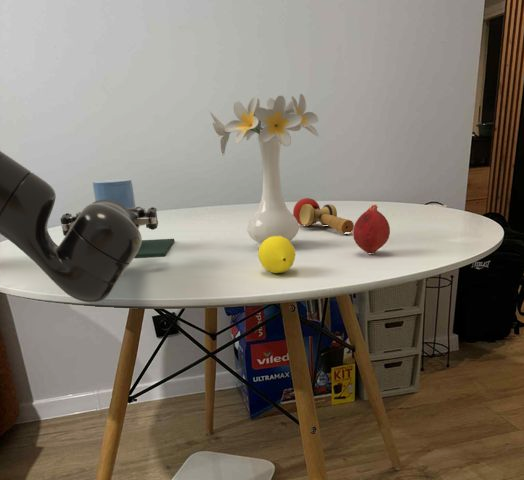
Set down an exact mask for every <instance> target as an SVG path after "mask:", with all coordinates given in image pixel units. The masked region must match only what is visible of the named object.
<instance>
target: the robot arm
mask: <svg viewBox="0 0 524 480" xmlns="http://www.w3.org/2000/svg"><path fill="white" fill-rule="evenodd" d="M56 194H57V193H56V191H55V189H54V188H53V186H52V185H50V183H48V182H47V181H46V180H44V179H43V178H42V177H40V176H39V175H37V174H35V173H34V172H32V171H31V170H29V169H28V168H27V167H25V166H23V164H21V163H19V162H18V161H16V160H15V159H13V158H12V157H10V156H9V155H8V154H6V153H5V152H3V151H2V150H0V235H1V236H3V237H4V238H6V239H7V240H8V241H10V242H11V243H12V244H13V245H15V247H16V248H18V249H19V250H21V252H23V253H24V254H25V255H26V256H27V257H28V258H29V259H30V260H32V261H33V263H35V264H36V265H37V266H38V267H39V268H40V269H41V271H43V272H44V274H45V275H47V276H48V278H49V279H50V280H51V281H52V282H53V284H55V285H56V286H57V287H58V288H59V289H60V290H62V291H63V292H64V293H65V294H67V295H68V296H69V297H71V298H73V299H75V300H77V301H80V302H84V303H98V302H101V301H103V300H105V299H106V298H107V297H108V296H109V295H110V294H111V292H112V291H113V289H114V288H115V286H117V283H118V282H119V281H120V279H121V277H122V276H123V275H124V273H125V272H126V270H127V269H128V268H129V266H130V264H131V263H132V262H133V260H134V259H135V258H134V257H135V256H136V254H137V253H138V251H139V249H140V246H141V244H142V240H143V236H142V234H141V231H140V230H138V229H140V226H145V227H146V229H149V230H152V231H153V230H156V229H158V225H159V221H158V214H157V211H158V210H157V208H156V207H154V206H153V207H151V206H150V208H148V209H147V210H146V208H143V207H141V206H135V208H133V207H129V208H127V207H125V206H124V205H123V204H121V203H120V202H118V201H115V200H111V199H102V200H98V201H95V200H94V201H93V202H92V203H89V204H87V205H86V206H85V207H84V208H83V209H82V210H81V211H78V212H76V213H75V216H73V215H72V213H68V212H67V213H64V214H62V216H61V217H60V223H61V229H62V234H63V236H64V238H63V239H62V241H61V242H60V243H59V244H57V243H55V242H54V241H53V239H52V237H51V234H50V233H49V230H48V229H49V228H48V226H49V225H48V224H49V220H50V217H51V214H52V212H53V210H54V209H53V208H54V205H55V202H56V197H57V196H56Z"/></svg>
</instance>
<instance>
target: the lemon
mask: <svg viewBox="0 0 524 480" xmlns="http://www.w3.org/2000/svg"><path fill="white" fill-rule="evenodd" d="M295 249H296V248H295V247H294V245H293V243H291V240H290V241H289V240H288V239H286V238H284V237H282V236H272V237H269V238H267V239H266V240H264V241H263V243H262V244H261V246H260V248H258V252H257V257H258V260H259V263H260V265H261V267H262V268H263V269H265V270H266V271H267V272H270V273H274V274H282V273H285V272H286V271H288V270H290V268H291V267H292V266H293V265H294V262H295V258H296V250H295Z"/></svg>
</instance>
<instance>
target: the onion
mask: <svg viewBox="0 0 524 480" xmlns="http://www.w3.org/2000/svg"><path fill="white" fill-rule="evenodd" d="M378 207H379V206H378V205H377V204H375V203H373V204H371V205H370V206H369V207H368V209H367V210H366V211H364V212H363V213H362V214H360V216H359V217H357V220H356V222H355V223H354V228H353V231H352V235H353V240H354V243H355V244H356V245H357V246H358V247H359V248H360V249H361V250H362V251H364V252H365V253H366V254H368V253H374V254H376V252H377V251H378V250H380V249H381V248H382V247H384V245H386V244H387V242H388V240H389V238H390V235H391V227H390V223H389V221H388V220H387V218H386V217H385V215H384V214H383V213H381V212H380V211H378Z"/></svg>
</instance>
